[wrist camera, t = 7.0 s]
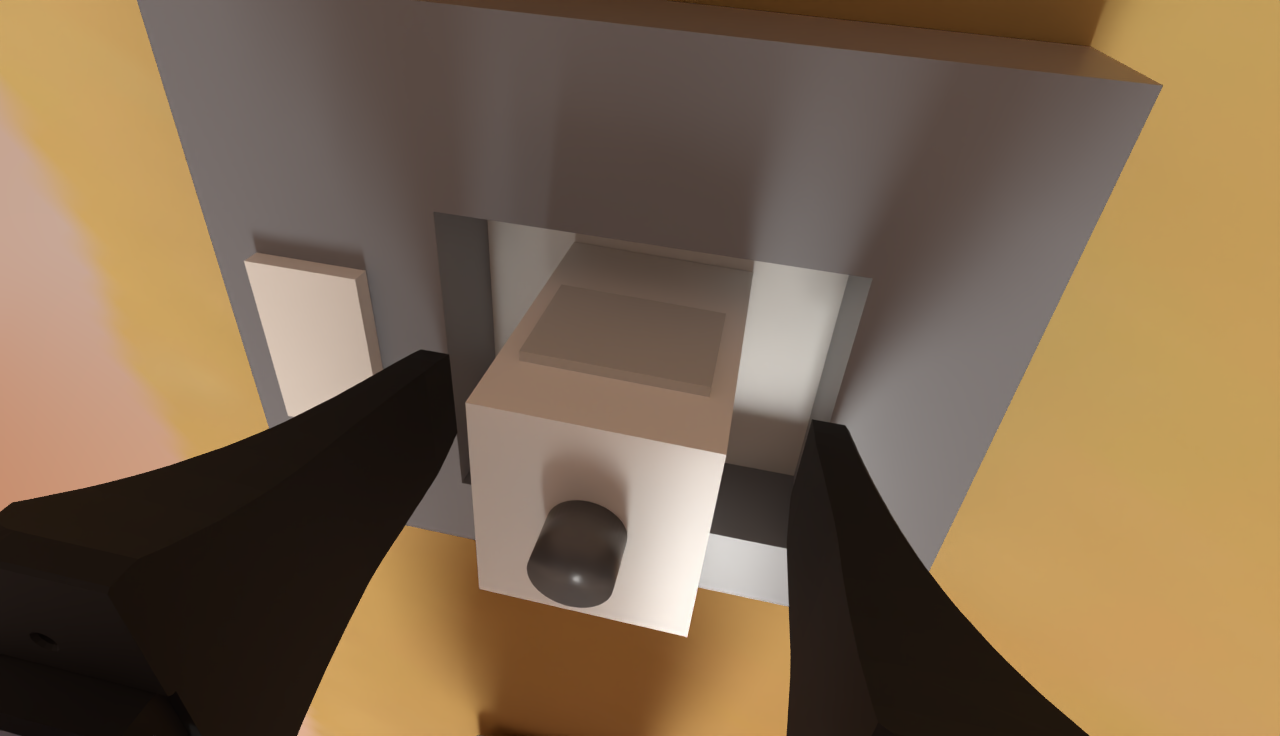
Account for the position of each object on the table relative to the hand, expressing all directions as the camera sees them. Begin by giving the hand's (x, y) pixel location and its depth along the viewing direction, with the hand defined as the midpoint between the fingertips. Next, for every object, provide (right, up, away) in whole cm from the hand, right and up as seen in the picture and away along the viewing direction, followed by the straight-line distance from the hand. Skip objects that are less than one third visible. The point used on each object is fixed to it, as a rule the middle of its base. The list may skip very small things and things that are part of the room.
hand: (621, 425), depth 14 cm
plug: (+1, +2, +3) cm, 3 cm away
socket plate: (0, +2, +3) cm, 4 cm away
